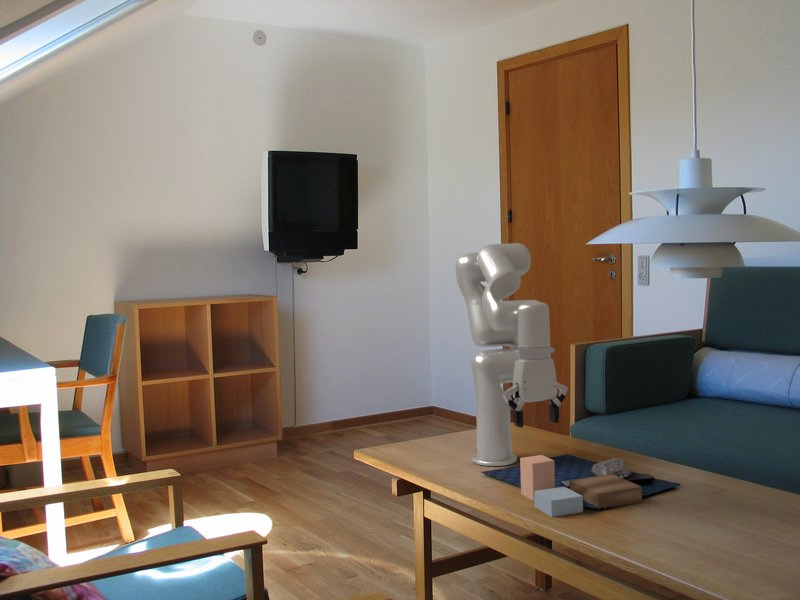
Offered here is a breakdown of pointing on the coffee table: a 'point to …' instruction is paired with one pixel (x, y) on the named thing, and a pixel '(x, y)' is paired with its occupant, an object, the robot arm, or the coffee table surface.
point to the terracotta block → (536, 474)
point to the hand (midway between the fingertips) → (536, 424)
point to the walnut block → (607, 490)
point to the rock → (611, 467)
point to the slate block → (558, 501)
